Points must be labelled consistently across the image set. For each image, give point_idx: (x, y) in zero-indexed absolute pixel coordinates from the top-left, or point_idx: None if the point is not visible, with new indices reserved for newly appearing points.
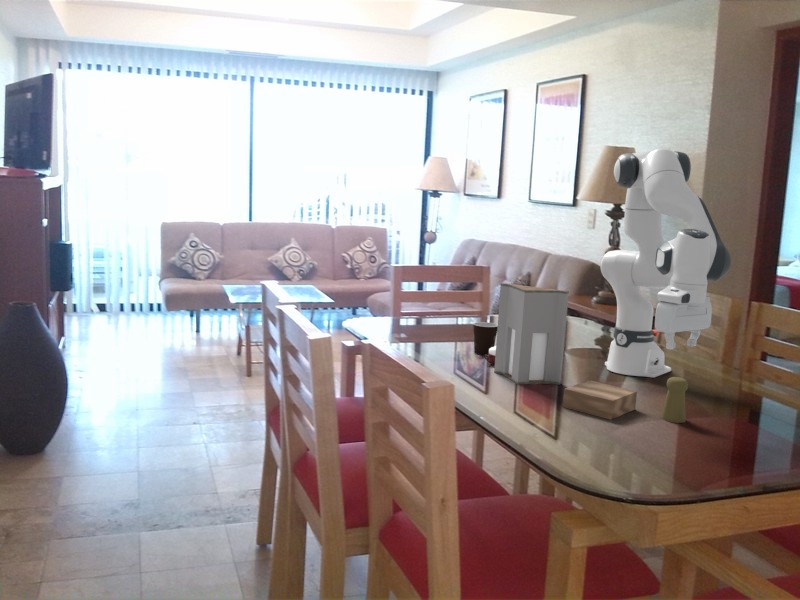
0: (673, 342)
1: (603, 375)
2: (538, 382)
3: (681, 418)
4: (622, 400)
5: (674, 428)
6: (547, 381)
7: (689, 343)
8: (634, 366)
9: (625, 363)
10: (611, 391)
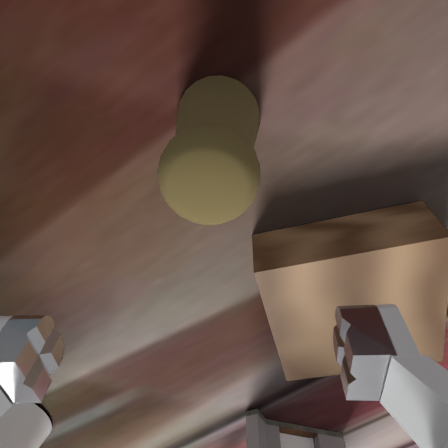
0: (411, 359)
1: (91, 415)
2: (294, 426)
3: (225, 82)
4: (364, 243)
5: (316, 38)
6: (273, 424)
7: (48, 353)
8: (2, 418)
9: (19, 433)
10: (339, 301)
